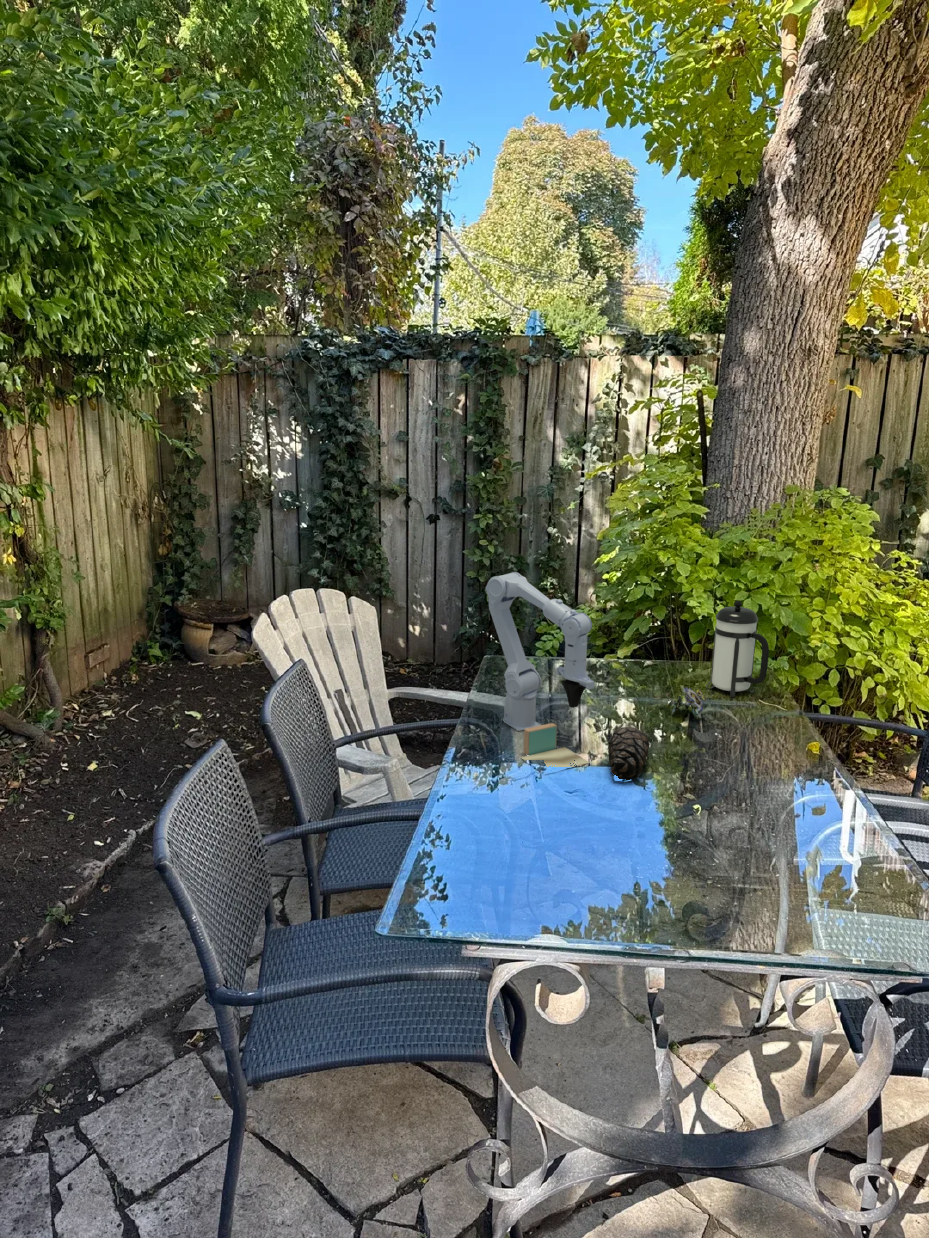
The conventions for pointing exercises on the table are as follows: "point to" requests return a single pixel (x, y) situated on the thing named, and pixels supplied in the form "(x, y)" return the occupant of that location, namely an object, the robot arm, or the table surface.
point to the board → (558, 758)
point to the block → (540, 739)
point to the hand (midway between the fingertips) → (573, 706)
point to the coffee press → (737, 650)
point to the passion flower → (688, 701)
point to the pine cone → (628, 752)
